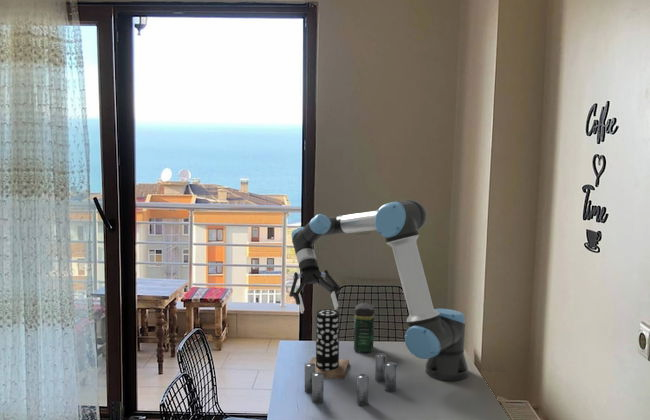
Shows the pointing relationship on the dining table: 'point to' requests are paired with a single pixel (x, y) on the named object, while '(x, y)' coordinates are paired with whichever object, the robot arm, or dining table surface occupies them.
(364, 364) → the dining table surface
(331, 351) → the spotted tube
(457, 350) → the robot arm
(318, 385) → the spacer posts
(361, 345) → the coffee jar
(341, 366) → the square wooden board
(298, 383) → the dining table surface
